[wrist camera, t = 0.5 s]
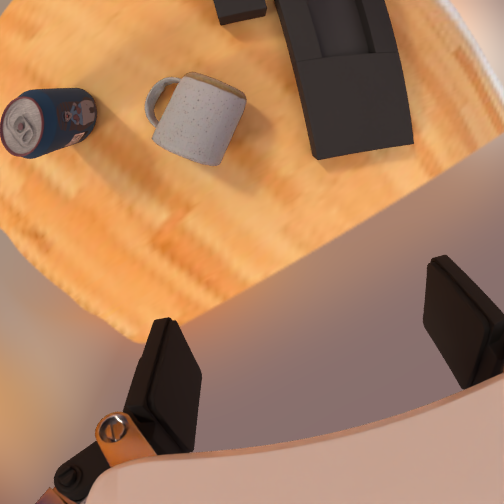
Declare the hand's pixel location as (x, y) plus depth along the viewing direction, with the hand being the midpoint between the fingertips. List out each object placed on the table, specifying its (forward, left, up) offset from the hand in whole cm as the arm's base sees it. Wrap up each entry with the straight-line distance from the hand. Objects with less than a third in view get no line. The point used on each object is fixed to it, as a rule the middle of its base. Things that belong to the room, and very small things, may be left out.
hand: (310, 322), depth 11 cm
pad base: (-11, +12, -28) cm, 32 cm away
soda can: (-13, -20, -28) cm, 37 cm away
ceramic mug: (-8, -6, -28) cm, 30 cm away
